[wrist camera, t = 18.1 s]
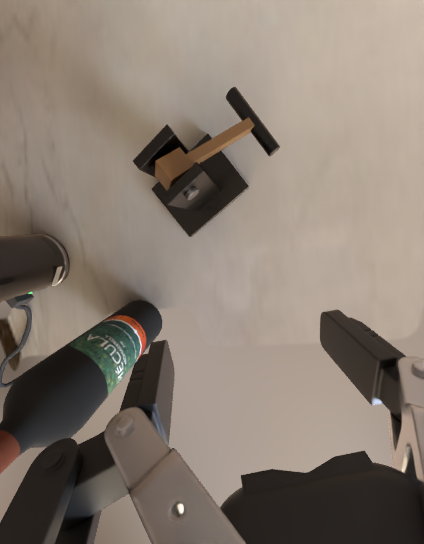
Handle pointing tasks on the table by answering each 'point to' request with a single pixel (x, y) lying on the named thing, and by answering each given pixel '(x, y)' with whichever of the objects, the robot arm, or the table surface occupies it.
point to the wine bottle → (74, 381)
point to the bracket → (193, 182)
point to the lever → (216, 143)
